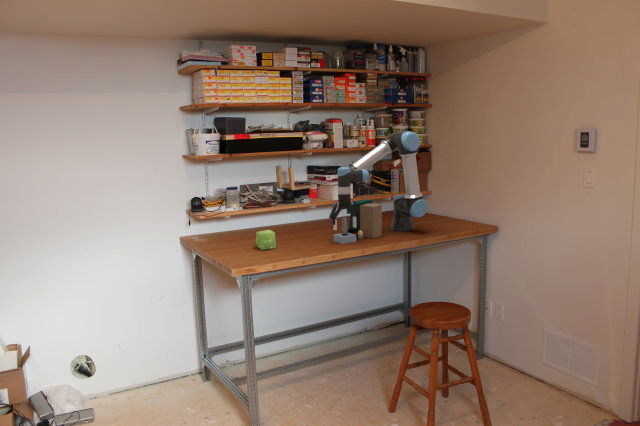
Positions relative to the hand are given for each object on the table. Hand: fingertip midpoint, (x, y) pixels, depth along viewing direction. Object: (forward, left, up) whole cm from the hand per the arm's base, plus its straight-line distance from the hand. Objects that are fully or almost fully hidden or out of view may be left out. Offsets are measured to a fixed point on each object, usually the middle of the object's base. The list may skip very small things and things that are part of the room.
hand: (345, 228), depth 311 cm
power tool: (-27, -21, -8) cm, 35 cm away
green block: (+47, -13, -8) cm, 49 cm away
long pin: (0, 0, -8) cm, 8 cm away
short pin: (-12, -1, -8) cm, 14 cm away
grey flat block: (0, 0, -8) cm, 8 cm away
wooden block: (-21, -3, -8) cm, 22 cm away
